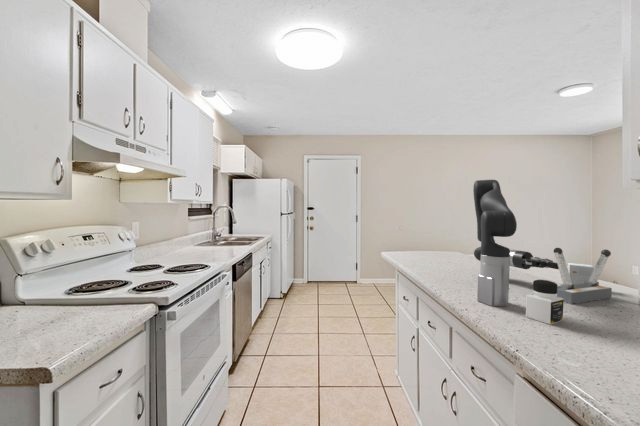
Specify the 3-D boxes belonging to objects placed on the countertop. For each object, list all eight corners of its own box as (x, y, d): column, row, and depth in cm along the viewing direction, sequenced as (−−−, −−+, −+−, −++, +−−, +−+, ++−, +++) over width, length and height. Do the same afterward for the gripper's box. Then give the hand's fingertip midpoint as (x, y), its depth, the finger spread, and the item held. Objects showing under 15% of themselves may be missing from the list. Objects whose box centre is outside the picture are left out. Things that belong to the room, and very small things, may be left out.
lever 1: (570, 288, 113) (558, 247, 117) (562, 289, 116) (550, 248, 120) (575, 288, 114) (563, 246, 118) (567, 288, 117) (555, 248, 121)
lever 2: (592, 287, 118) (609, 251, 113) (584, 284, 121) (600, 248, 116) (597, 287, 119) (614, 251, 114) (589, 283, 122) (605, 248, 117)
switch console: (571, 304, 110) (571, 288, 110) (547, 297, 117) (548, 282, 117) (611, 298, 118) (611, 283, 118) (587, 292, 125) (587, 278, 125)
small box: (590, 288, 132) (591, 264, 131) (593, 291, 127) (594, 266, 127) (566, 285, 136) (567, 262, 136) (568, 288, 131) (569, 264, 131)
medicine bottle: (550, 325, 90) (552, 284, 89) (525, 317, 96) (526, 279, 96) (563, 321, 93) (564, 282, 93) (537, 313, 99) (539, 277, 99)
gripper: (507, 251, 132) (549, 257, 115) (528, 249, 136) (571, 256, 120) (506, 268, 132) (548, 277, 115) (527, 266, 136) (571, 275, 120)
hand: (560, 266), depth 118 cm, fingers closed
